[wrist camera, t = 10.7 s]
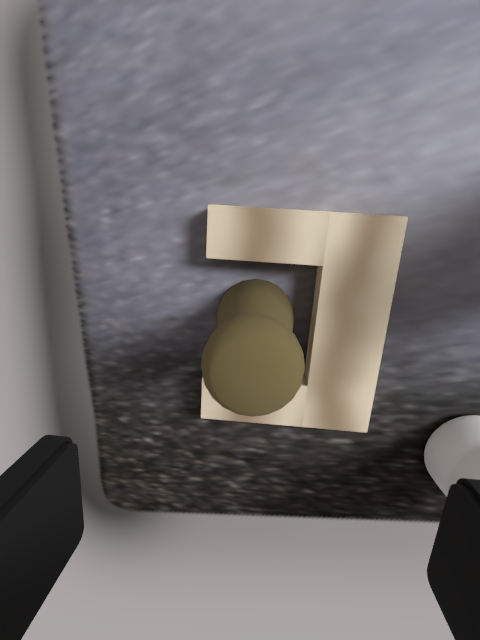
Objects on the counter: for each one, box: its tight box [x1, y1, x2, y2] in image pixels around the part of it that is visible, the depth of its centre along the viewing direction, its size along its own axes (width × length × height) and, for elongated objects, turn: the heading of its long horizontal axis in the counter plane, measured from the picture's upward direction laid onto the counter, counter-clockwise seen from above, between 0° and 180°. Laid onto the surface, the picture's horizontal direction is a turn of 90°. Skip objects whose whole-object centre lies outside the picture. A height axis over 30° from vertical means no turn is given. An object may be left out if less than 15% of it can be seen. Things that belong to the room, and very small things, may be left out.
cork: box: [201, 279, 305, 417], centre depth 20 cm, size 6×6×11 cm
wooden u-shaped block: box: [201, 204, 408, 433], centre depth 24 cm, size 13×16×2 cm
